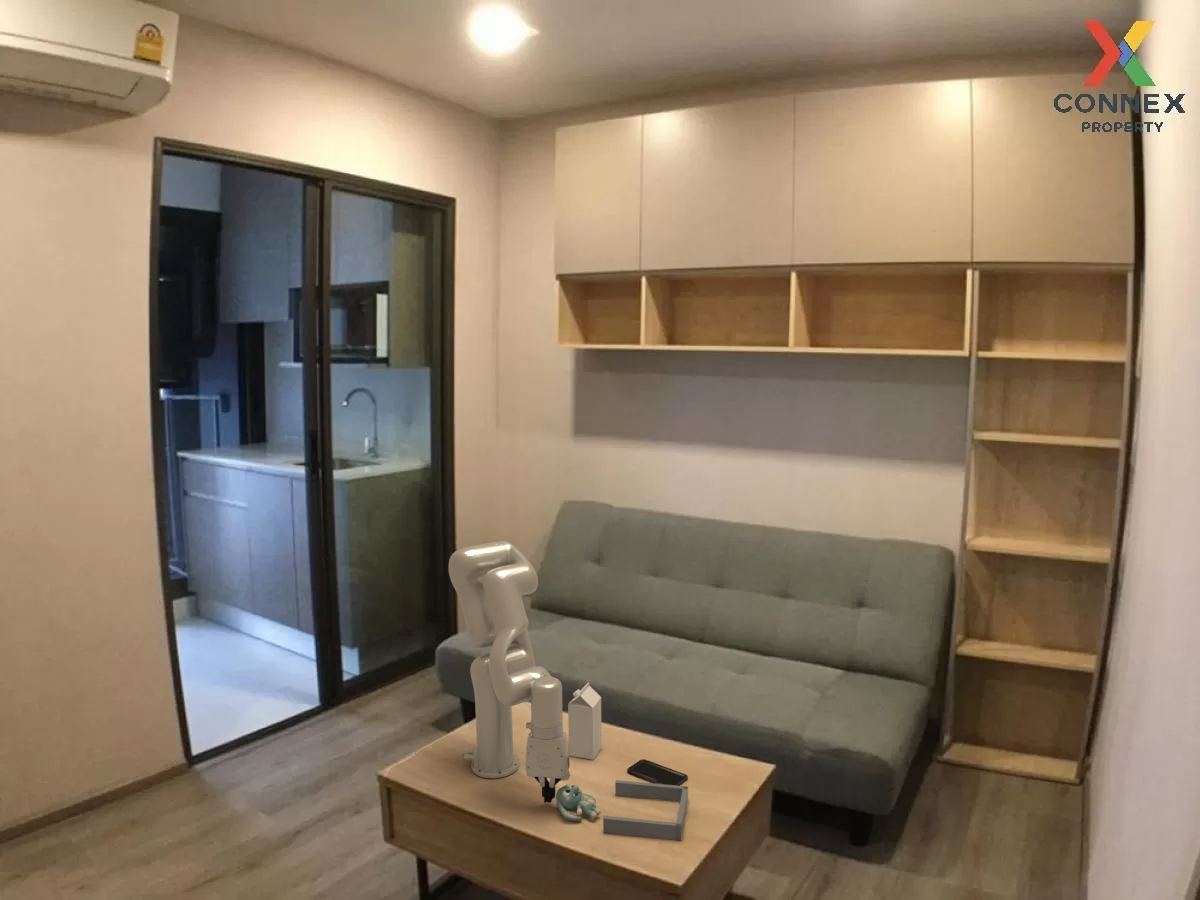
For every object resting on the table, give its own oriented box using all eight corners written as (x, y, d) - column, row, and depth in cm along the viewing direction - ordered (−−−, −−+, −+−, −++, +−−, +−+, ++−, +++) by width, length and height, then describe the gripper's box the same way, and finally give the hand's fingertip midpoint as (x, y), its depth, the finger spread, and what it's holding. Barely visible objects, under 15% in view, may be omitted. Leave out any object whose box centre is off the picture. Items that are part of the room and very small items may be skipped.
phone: (642, 758, 233) (689, 775, 223) (642, 762, 233) (689, 779, 224) (624, 770, 227) (672, 788, 217) (625, 774, 227) (672, 792, 218)
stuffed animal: (587, 810, 200) (547, 786, 206) (582, 836, 201) (543, 812, 208) (613, 790, 208) (573, 767, 215) (608, 815, 210) (569, 792, 216)
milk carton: (601, 748, 240) (601, 683, 237) (593, 760, 233) (592, 693, 231) (577, 744, 242) (576, 680, 240) (568, 756, 236) (567, 690, 233)
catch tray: (603, 832, 200) (603, 818, 200) (616, 793, 217) (616, 780, 216) (681, 840, 197) (681, 826, 196) (688, 799, 213) (688, 786, 213)
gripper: (512, 733, 206) (514, 805, 209) (573, 738, 203) (575, 811, 206) (521, 719, 214) (523, 789, 216) (580, 724, 211) (582, 794, 213)
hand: (548, 799), depth 211 cm, fingers closed
